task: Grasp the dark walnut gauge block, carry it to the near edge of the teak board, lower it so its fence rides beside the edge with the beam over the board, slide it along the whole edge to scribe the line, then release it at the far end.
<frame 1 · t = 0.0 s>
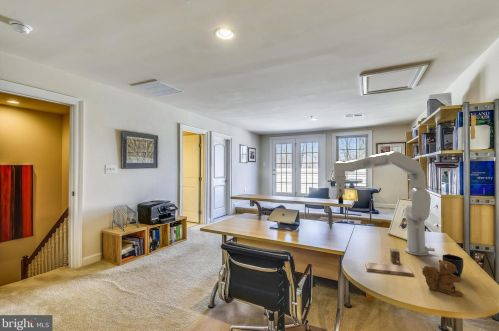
hand: (340, 202, 171), 31 cm above the table, fingers open, 9 cm apart
mug: (452, 274, 125), on the table
teak board: (388, 269, 133), on the table
walnut gauge: (395, 261, 143), on the table
stuffed squirrel: (441, 290, 111), on the table
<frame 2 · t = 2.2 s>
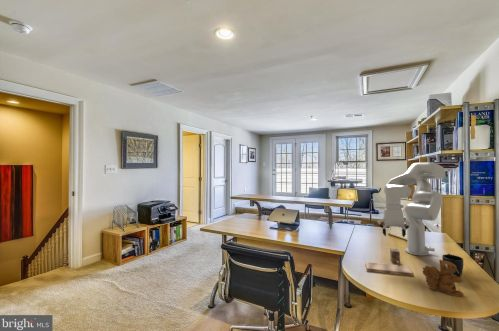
hand: (394, 235, 143), 16 cm above the table, fingers open, 9 cm apart
nothing on the table moved.
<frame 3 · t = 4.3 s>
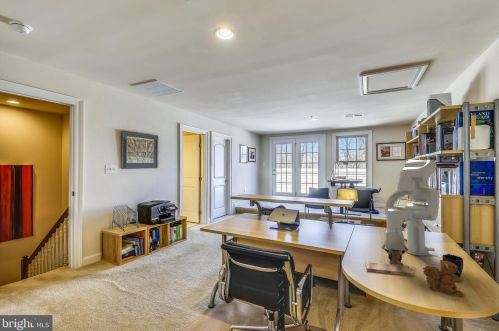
hand: (395, 260, 143), 1 cm above the table, fingers closed on walnut gauge, 4 cm apart
walnut gauge: (395, 261, 143), on the table, touching gripper
everything else where it was.
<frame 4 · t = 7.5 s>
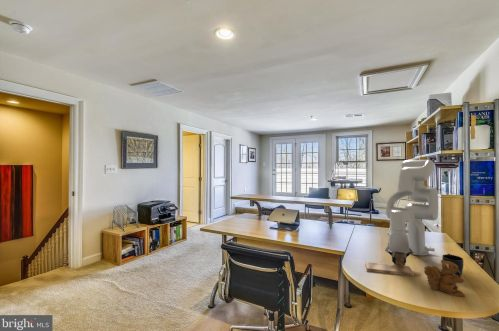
hand: (399, 263, 137), 1 cm above the table, fingers closed on walnut gauge, 4 cm apart
walnut gauge: (399, 265, 137), on the table, touching gripper
everything else where it was.
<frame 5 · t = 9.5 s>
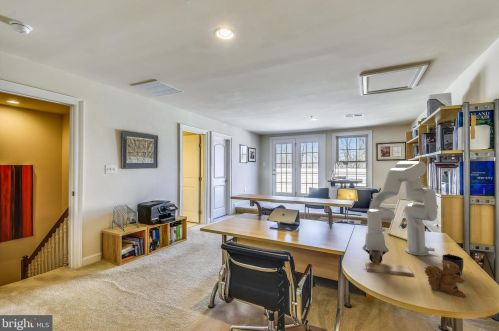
hand: (375, 261, 141), 1 cm above the table, fingers closed on walnut gauge, 4 cm apart
walnut gauge: (375, 262, 141), on the table, touching gripper
when the fingers open (1 cm above the table, at t = 11.0 s): walnut gauge stays where it is, on the table.
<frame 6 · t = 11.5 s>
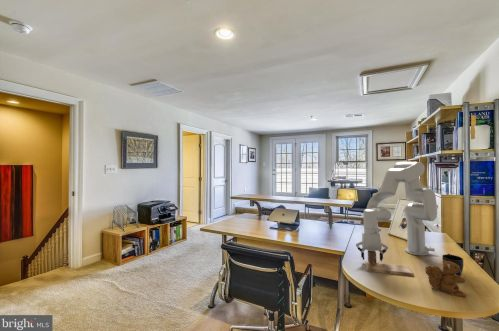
hand: (372, 259, 142), 2 cm above the table, fingers open, 9 cm apart
walnut gauge: (372, 263, 142), on the table
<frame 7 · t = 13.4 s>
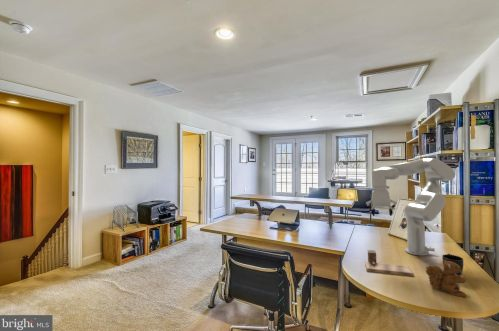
hand: (382, 215, 151), 26 cm above the table, fingers open, 9 cm apart
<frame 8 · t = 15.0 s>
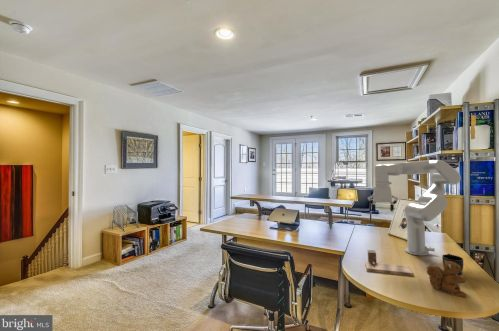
hand: (382, 210, 153), 28 cm above the table, fingers open, 9 cm apart
at the end: walnut gauge 0.4 cm from the target spot on the table beside the teak board, on the table; walnut gauge tilted 0°; the gripper is holding nothing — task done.
